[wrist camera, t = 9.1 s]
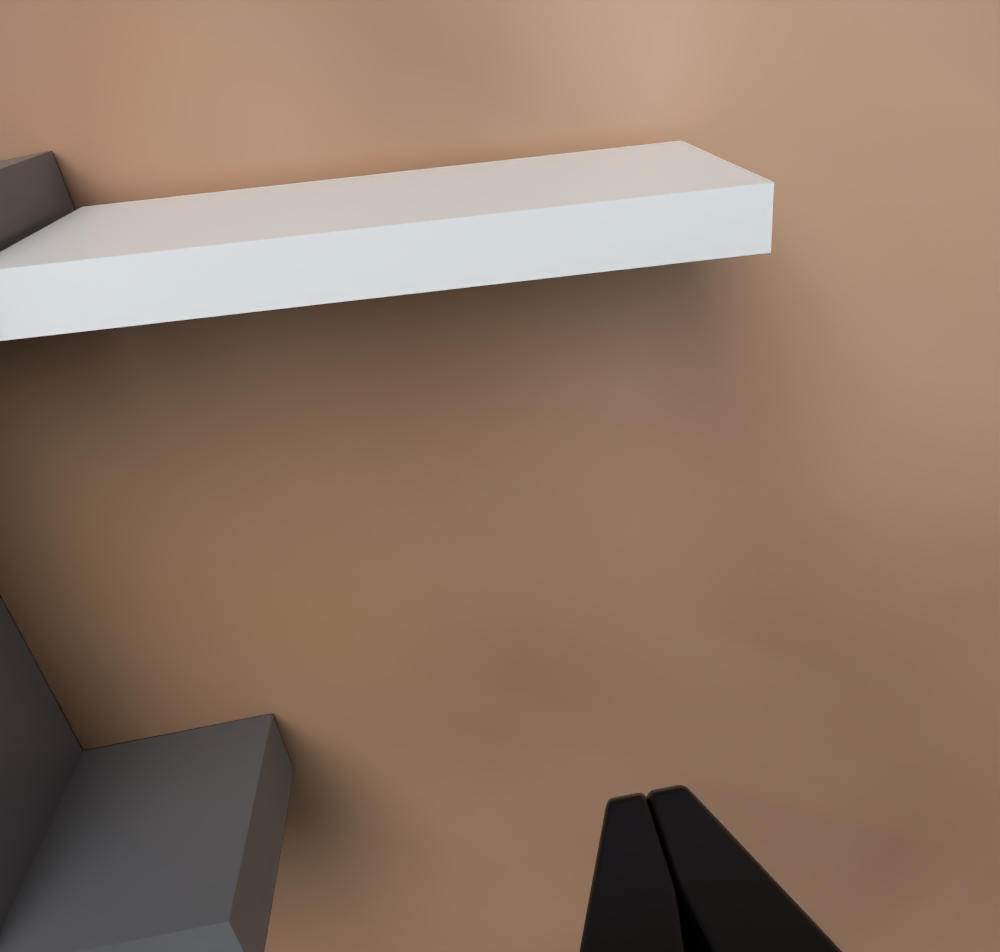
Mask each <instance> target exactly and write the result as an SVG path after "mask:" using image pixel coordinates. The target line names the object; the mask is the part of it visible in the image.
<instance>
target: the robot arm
mask: <svg viewBox="0 0 1000 952" xmlns="http://www.w3.org/2000/svg"><path fill="white" fill-rule="evenodd" d="M580 952H842V951H841V950H840V949H839V948H838V947H837V946H836V945H835V943H834V942H833V941H832V940H831V939H830V938H829V937H828V936H827V935H826V934H825V933H824V932H823V931H822V930H821V929H820V928H819V927H818V925H817V924H816V923H815V922H814V921H813V920H812V919H811V918H810V917H809V916H808V915H807V914H806V913H805V912H804V911H803V910H802V908H801V907H800V906H799V905H798V904H797V903H796V902H795V901H794V900H793V899H792V898H791V897H790V896H789V895H788V894H787V893H786V892H785V890H784V889H783V888H782V887H781V886H780V885H779V884H778V883H777V882H776V881H775V880H774V879H773V878H772V877H771V876H770V875H769V873H768V872H767V871H766V870H765V869H764V868H763V867H762V866H761V865H760V864H759V863H758V862H757V861H756V860H755V859H754V858H753V857H752V855H751V854H750V853H749V852H748V851H747V850H746V849H745V848H744V847H743V846H742V845H741V844H740V843H739V842H738V841H737V840H736V838H735V837H734V836H733V835H732V834H731V833H730V832H729V831H728V830H727V829H726V828H725V827H724V826H723V825H722V824H721V823H720V821H719V820H718V819H717V818H716V817H715V816H714V815H713V814H712V813H711V812H710V811H709V810H708V809H707V808H706V807H705V806H704V805H703V803H702V802H701V801H700V800H699V799H698V798H697V797H696V796H695V795H694V794H693V793H692V792H691V791H690V790H689V789H688V788H687V787H685V786H682V785H676V786H671V787H666V788H661V789H656V790H652V791H650V792H649V793H648V796H647V797H646V796H645V795H644V794H642V793H635V794H630V795H625V796H619V797H614V798H611V799H610V800H609V801H608V803H607V805H606V809H605V814H604V820H603V825H602V831H601V836H600V842H599V848H598V853H597V859H596V864H595V870H594V875H593V881H592V886H591V892H590V897H589V903H588V908H587V914H586V920H585V925H584V931H583V936H582V942H581V947H580Z"/></svg>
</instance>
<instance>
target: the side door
mask: <svg viewBox="0 0 1000 952" xmlns="http://www.w3.org/2000/svg"><path fill="white" fill-rule="evenodd" d="M773 193H774V182H772V181H770V180H768V179H766V178H764V177H761V176H759V175H757V174H755V173H752V172H750V171H748V170H746V169H744V168H741V167H739V166H737V165H735V164H732V163H730V162H728V161H726V160H724V159H721V158H719V157H717V156H715V155H712V154H710V153H708V152H706V151H703V150H701V149H699V148H697V147H695V146H692V145H690V144H688V143H686V142H683V141H673V142H664V143H655V144H646V145H637V146H627V147H618V148H609V149H600V150H591V151H582V152H573V153H564V154H555V155H546V156H537V157H528V158H519V159H510V160H501V161H492V162H483V163H474V164H465V165H455V166H446V167H437V168H428V169H419V170H410V171H401V172H392V173H383V174H374V175H365V176H356V177H347V178H338V179H329V180H320V181H311V182H302V183H293V184H284V185H274V186H265V187H256V188H247V189H238V190H229V191H220V192H211V193H202V194H193V195H184V196H175V197H166V198H157V199H148V200H139V201H130V202H121V203H112V204H102V205H93V206H84V207H81V208H79V209H77V210H75V211H73V212H71V213H70V214H68V215H66V216H64V217H62V218H61V219H59V220H57V221H55V222H53V223H52V224H50V225H48V226H46V227H44V228H43V229H41V230H39V231H37V232H35V233H34V234H32V235H30V236H28V237H26V238H24V239H23V240H21V241H19V242H17V243H15V244H14V245H12V246H10V247H8V248H6V249H5V250H3V251H1V252H0V341H5V340H14V339H22V338H31V337H40V336H49V335H57V334H66V333H75V332H83V331H92V330H101V329H110V328H118V327H127V326H136V325H144V324H153V323H162V322H171V321H179V320H188V319H197V318H205V317H214V316H223V315H231V314H240V313H249V312H258V311H266V310H275V309H284V308H292V307H301V306H310V305H319V304H327V303H336V302H345V301H353V300H362V299H371V298H380V297H388V296H397V295H406V294H414V293H423V292H432V291H441V290H449V289H458V288H467V287H475V286H484V285H493V284H502V283H510V282H519V281H528V280H536V279H545V278H554V277H563V276H571V275H580V274H589V273H597V272H606V271H615V270H624V269H632V268H641V267H650V266H658V265H667V264H676V263H684V262H693V261H702V260H711V259H719V258H728V257H737V256H745V255H754V254H763V253H771V237H772V215H773Z"/></svg>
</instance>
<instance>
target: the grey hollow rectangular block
mask: <svg viewBox="0 0 1000 952" xmlns="http://www.w3.org/2000/svg"><path fill="white" fill-rule="evenodd" d="M73 211H75V209H74V206H73V204H72V201H71V199H70V196H69V193H68V191H67V188H66V186H65V183H64V181H63V178H62V176H61V173H60V170H59V168H58V165H57V163H56V160H55V158H54V155H53V153H52V151H48V152H43V153H38V154H33V155H28V156H23V157H18V158H13V159H8V160H3V161H0V252H1V251H3V250H5V249H6V248H8V247H10V246H12V245H14V244H15V243H17V242H19V241H21V240H23V239H24V238H26V237H28V236H30V235H32V234H34V233H35V232H37V231H39V230H41V229H43V228H44V227H46V226H48V225H50V224H52V223H53V222H55V221H57V220H59V219H61V218H62V217H64V216H66V215H68V214H70V213H71V212H73ZM293 773H294V768H293V766H292V763H291V761H290V758H289V755H288V753H287V750H286V748H285V745H284V743H283V740H282V738H281V735H280V732H279V730H278V727H277V725H276V722H275V720H274V717H273V715H272V714H269V715H264V716H259V717H254V718H249V719H243V720H238V721H233V722H228V723H223V724H218V725H213V726H208V727H203V728H198V729H193V730H188V731H183V732H177V733H172V734H167V735H162V736H157V737H152V738H147V739H142V740H137V741H132V742H127V743H122V744H117V745H111V746H106V747H101V748H96V749H91V750H86V751H82V749H81V747H80V745H79V743H78V741H77V739H76V738H75V736H74V734H73V732H72V730H71V728H70V726H69V724H68V723H67V721H66V719H65V717H64V715H63V713H62V711H61V709H60V708H59V706H58V704H57V702H56V700H55V698H54V696H53V695H52V693H51V691H50V689H49V687H48V685H47V683H46V681H45V680H44V678H43V676H42V674H41V672H40V670H39V668H38V666H37V665H36V663H35V661H34V659H33V657H32V655H31V653H30V651H29V650H28V648H27V646H26V644H25V642H24V640H23V638H22V637H21V635H20V633H19V631H18V629H17V627H16V625H15V623H14V622H13V620H12V618H11V616H10V614H9V612H8V610H7V608H6V607H5V605H4V603H3V601H2V599H1V597H0V952H264V950H265V944H266V938H267V932H268V926H269V920H270V914H271V908H272V901H273V895H274V889H275V883H276V877H277V871H278V865H279V859H280V853H281V846H282V840H283V834H284V828H285V822H286V816H287V810H288V804H289V798H290V792H291V785H292V779H293Z"/></svg>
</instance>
